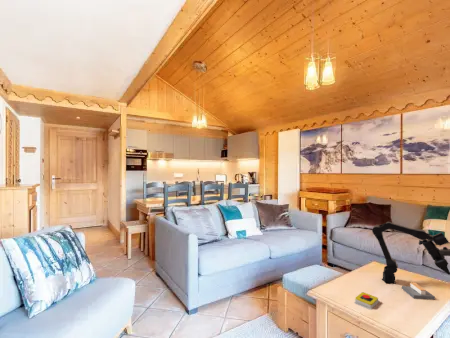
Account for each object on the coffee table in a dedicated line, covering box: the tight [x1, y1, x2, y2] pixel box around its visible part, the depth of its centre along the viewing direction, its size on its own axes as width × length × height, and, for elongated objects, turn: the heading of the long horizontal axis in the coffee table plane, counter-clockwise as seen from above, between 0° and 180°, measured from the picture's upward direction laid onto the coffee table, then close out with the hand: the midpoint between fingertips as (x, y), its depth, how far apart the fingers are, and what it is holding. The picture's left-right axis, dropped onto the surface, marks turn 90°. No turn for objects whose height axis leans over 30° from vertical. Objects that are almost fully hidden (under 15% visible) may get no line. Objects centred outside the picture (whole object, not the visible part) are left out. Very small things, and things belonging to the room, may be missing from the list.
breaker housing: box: [401, 285, 436, 301], centre depth 158 cm, size 12×12×2 cm
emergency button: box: [353, 292, 380, 311], centre depth 148 cm, size 9×4×15 cm
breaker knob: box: [409, 281, 426, 295], centre depth 158 cm, size 2×10×3 cm, turn 175°
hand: (448, 271), depth 157 cm, fingers open, 9 cm apart
